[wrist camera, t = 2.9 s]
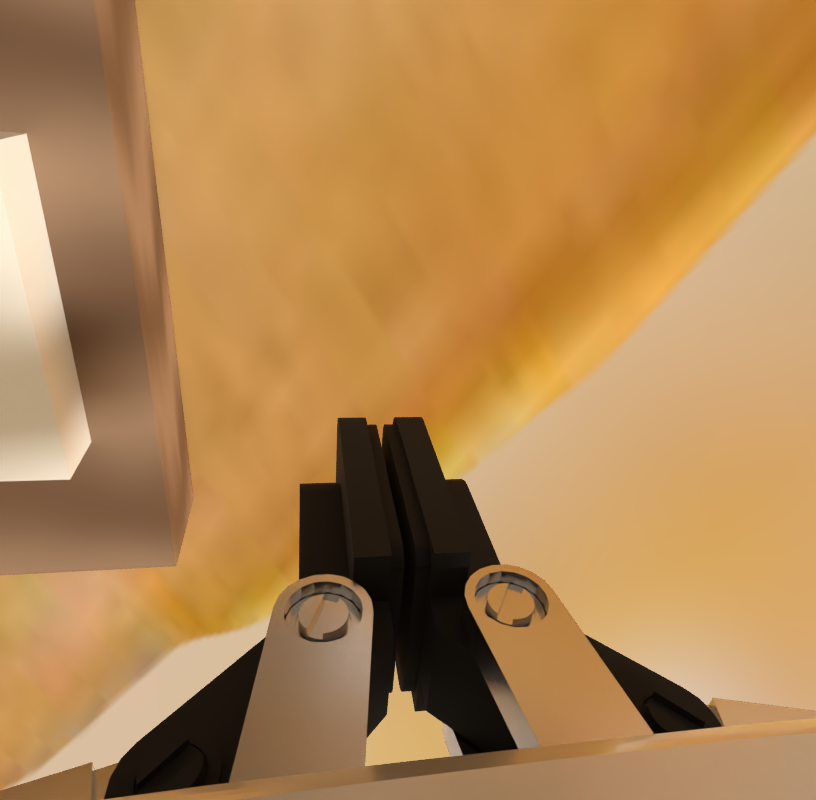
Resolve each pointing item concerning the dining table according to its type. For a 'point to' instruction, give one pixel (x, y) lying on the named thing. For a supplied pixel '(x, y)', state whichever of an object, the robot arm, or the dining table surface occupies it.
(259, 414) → the dining table surface
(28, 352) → the cream white panel
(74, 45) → the brown wooden block
